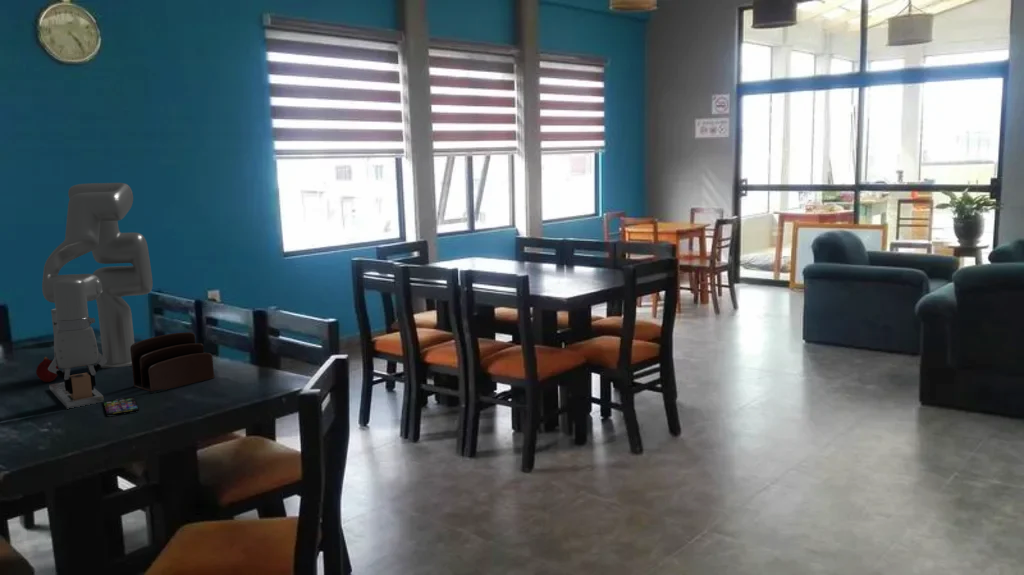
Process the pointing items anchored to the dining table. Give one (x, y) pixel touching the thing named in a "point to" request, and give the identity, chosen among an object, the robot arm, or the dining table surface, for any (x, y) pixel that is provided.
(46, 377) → the onion
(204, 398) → the dining table surface
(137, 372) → the letter holder
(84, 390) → the brown rectangular block
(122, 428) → the dining table surface
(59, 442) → the dining table surface
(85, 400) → the pale grey slotted tray
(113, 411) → the smartphone
